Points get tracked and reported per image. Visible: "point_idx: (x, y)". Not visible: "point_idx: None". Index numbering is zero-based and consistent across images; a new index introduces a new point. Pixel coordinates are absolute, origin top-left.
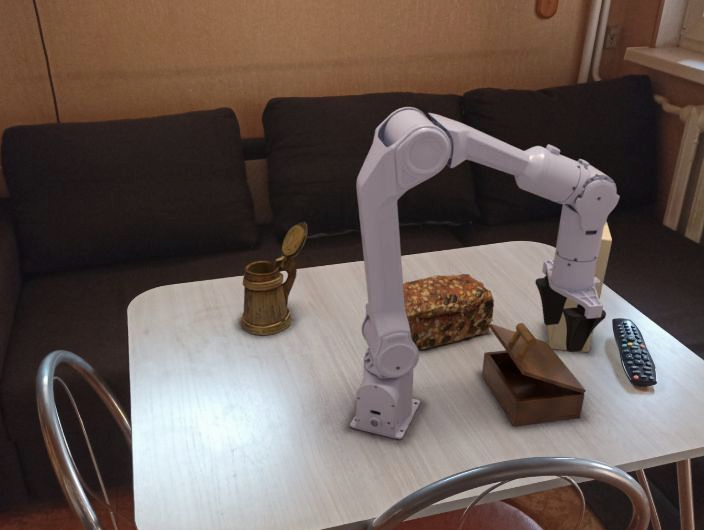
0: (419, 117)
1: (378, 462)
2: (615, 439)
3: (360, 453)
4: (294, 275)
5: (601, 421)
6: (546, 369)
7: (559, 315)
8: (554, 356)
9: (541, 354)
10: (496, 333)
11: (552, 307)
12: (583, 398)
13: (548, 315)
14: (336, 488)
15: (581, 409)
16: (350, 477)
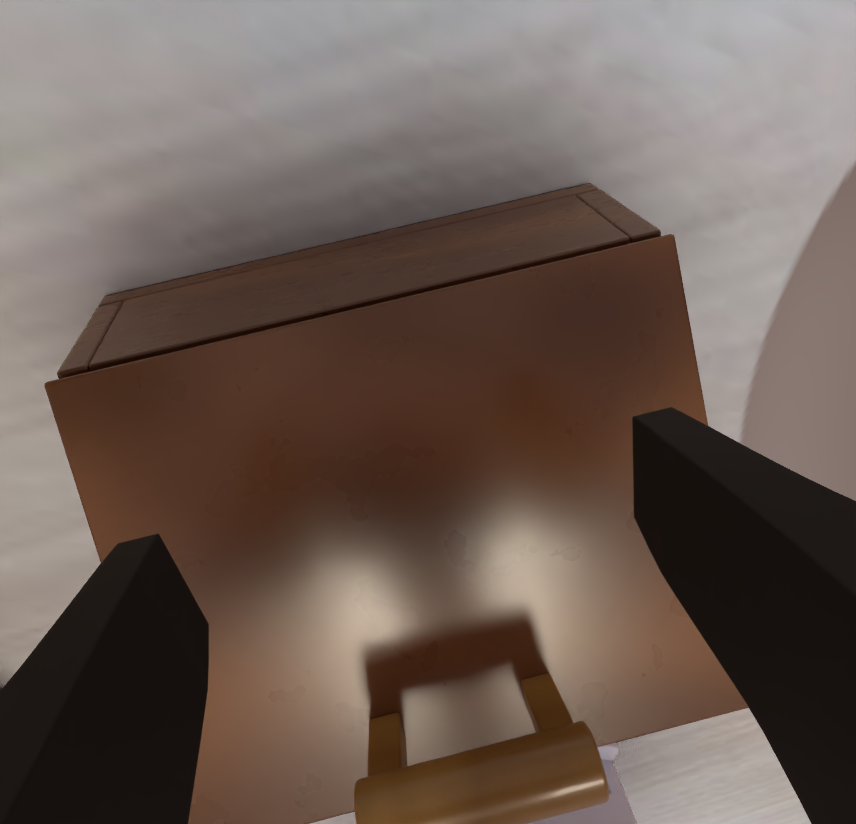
0: None
1: (686, 762)
2: (794, 28)
3: (644, 793)
4: None
5: (637, 61)
6: (595, 522)
7: (134, 616)
8: (286, 379)
9: (362, 505)
10: (314, 818)
11: (142, 789)
12: (647, 223)
13: (188, 716)
14: (745, 804)
15: (614, 199)
16: (720, 793)
